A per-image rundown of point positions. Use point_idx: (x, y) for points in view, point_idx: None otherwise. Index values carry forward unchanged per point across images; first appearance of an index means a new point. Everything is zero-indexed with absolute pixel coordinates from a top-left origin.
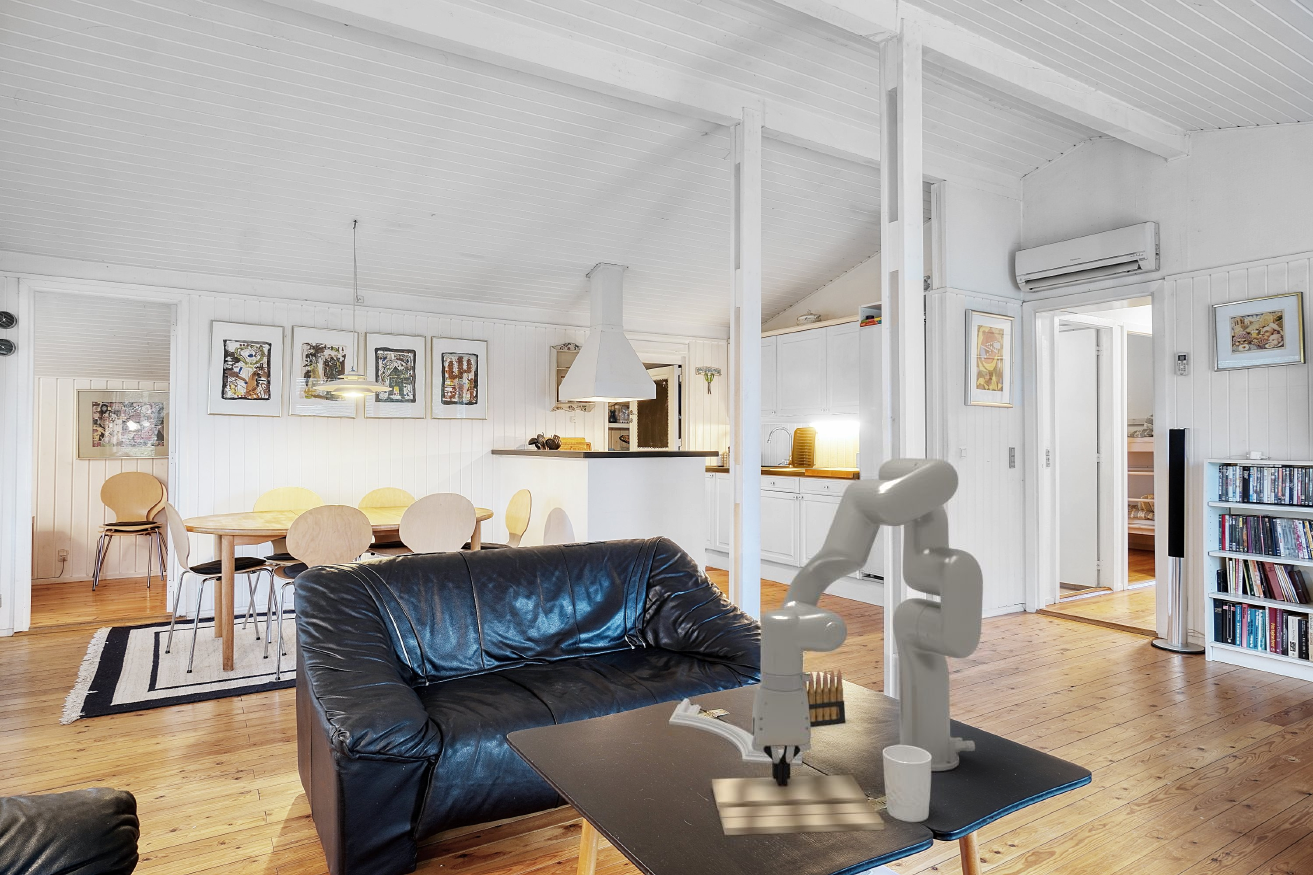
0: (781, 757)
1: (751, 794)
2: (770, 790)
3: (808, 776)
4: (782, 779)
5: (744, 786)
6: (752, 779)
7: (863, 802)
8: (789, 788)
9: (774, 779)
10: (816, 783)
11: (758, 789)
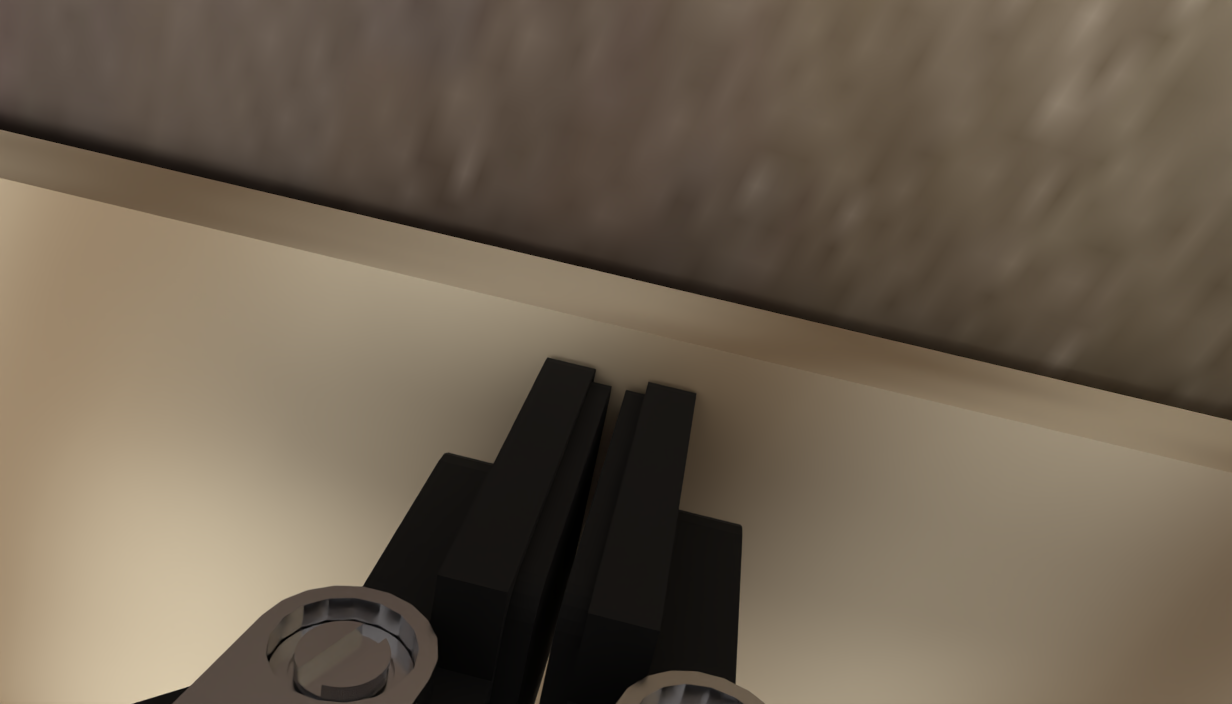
0: (587, 641)
1: (100, 615)
2: None
3: (1175, 466)
4: (546, 661)
5: (27, 416)
6: (170, 262)
7: None
8: None
9: (526, 376)
10: (1135, 686)
11: (210, 542)
